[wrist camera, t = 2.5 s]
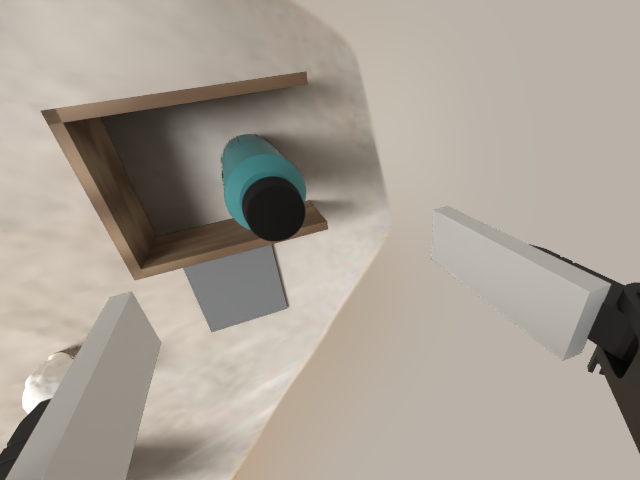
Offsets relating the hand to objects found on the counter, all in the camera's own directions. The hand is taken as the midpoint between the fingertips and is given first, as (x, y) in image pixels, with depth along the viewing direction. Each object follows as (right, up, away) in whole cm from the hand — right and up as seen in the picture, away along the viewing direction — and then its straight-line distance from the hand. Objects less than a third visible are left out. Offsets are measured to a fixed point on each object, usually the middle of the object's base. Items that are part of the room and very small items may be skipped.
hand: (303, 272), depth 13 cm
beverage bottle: (-8, +11, +23) cm, 27 cm away
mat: (-11, -6, +30) cm, 33 cm away
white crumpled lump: (-34, -17, +28) cm, 48 cm away
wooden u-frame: (-12, +10, +22) cm, 27 cm away
